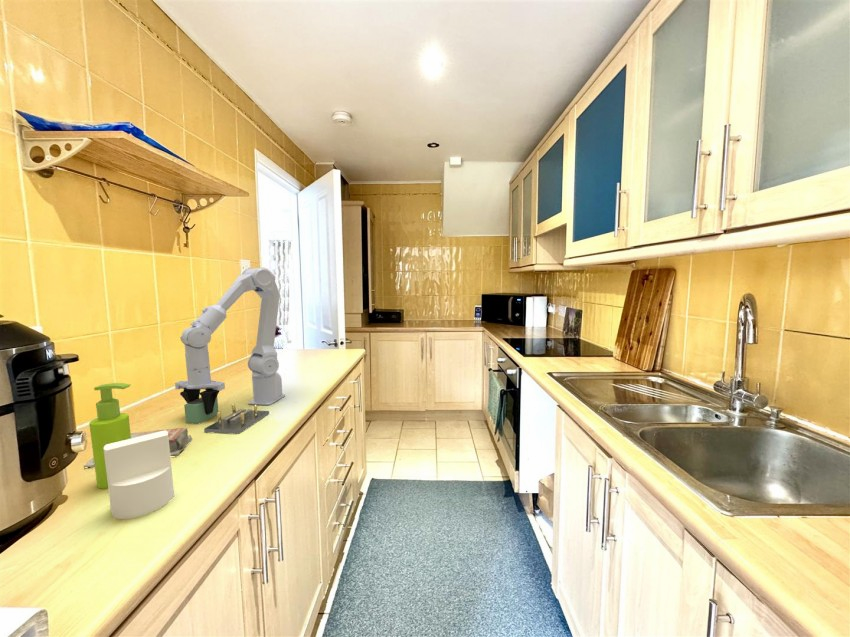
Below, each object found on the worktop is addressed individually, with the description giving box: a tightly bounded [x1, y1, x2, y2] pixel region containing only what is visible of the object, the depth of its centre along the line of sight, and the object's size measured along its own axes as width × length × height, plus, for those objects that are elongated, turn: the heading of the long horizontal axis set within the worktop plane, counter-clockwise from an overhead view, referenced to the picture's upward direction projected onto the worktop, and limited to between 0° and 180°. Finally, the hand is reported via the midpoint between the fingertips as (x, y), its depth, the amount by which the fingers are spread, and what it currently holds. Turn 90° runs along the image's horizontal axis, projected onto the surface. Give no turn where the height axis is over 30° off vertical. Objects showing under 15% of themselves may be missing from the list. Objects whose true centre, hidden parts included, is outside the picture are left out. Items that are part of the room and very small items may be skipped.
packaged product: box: [83, 427, 193, 468], centre depth 84 cm, size 18×5×10 cm
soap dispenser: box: [88, 382, 131, 490], centre depth 72 cm, size 6×7×20 cm
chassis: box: [203, 403, 270, 435], centre depth 101 cm, size 14×10×4 cm
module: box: [184, 396, 219, 425], centre depth 105 cm, size 8×4×6 cm, turn 172°
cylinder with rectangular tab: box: [104, 429, 175, 520], centre depth 65 cm, size 9×9×12 cm
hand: (202, 413), depth 105 cm, fingers closed on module, 4 cm apart
